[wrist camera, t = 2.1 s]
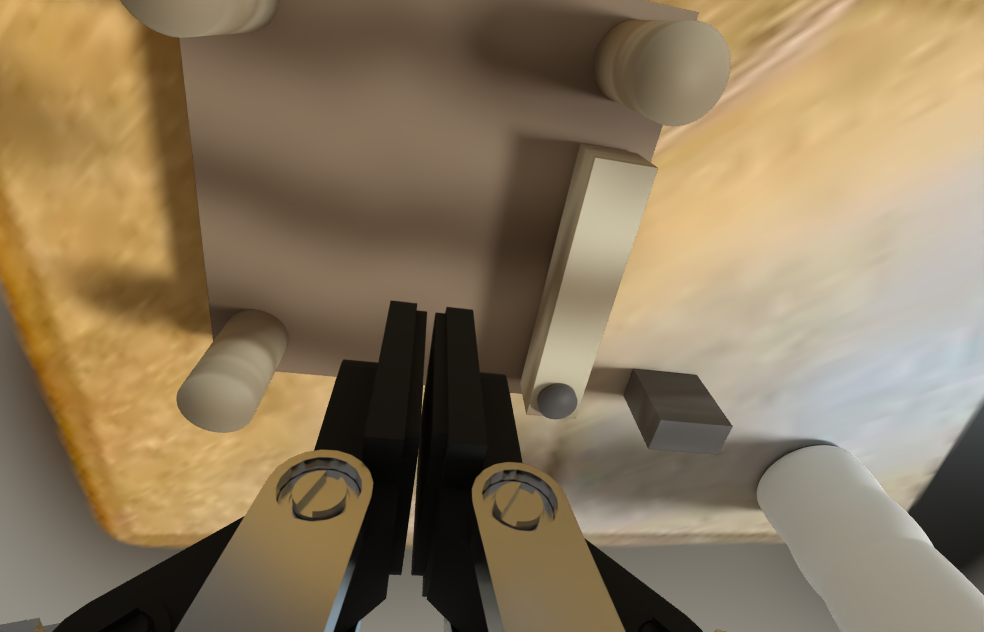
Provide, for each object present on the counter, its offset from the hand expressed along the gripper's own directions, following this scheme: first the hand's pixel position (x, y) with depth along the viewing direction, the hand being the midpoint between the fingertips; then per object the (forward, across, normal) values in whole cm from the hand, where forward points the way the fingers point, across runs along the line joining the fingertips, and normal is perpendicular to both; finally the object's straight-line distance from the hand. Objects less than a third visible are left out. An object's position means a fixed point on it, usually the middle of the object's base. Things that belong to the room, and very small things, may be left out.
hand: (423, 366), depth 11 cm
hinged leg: (+12, -7, +3) cm, 14 cm away
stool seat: (+15, -4, +1) cm, 15 cm away
